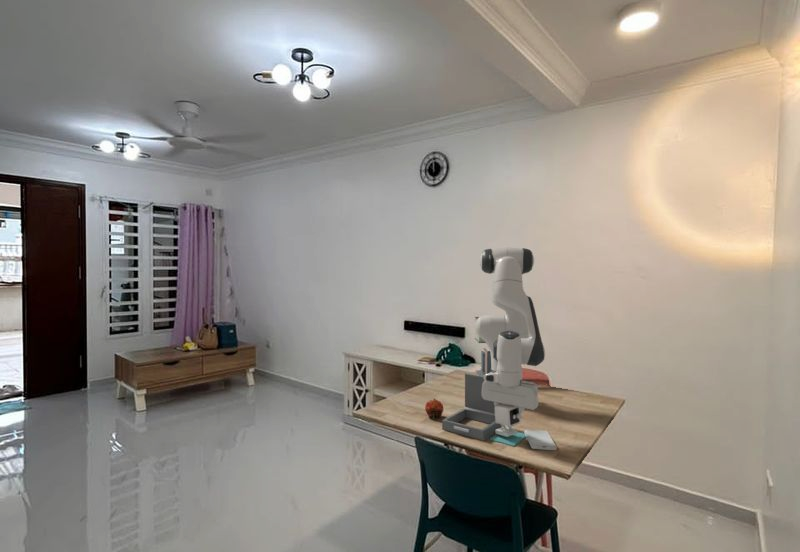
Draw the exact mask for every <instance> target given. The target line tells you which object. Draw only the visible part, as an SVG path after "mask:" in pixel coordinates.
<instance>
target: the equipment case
mask: <svg viewBox="0 0 800 552" xmlns="http://www.w3.org/2000/svg"><path fill="white" fill-rule="evenodd" d="M484 381H485V380H484V377H483V376H479V375H478V374H477V375H476V374H471V373H464V408H463V409H460V410H459V411H457V412H454V413H453V414H452V415H449V416H447V417H445V418H444V419H442V421H441V423H442V424H441V429H442V430H443V431H447V432H450V433H454V434H458V435H462V436H465V437H468V438H472V439H476V440H479V441H482V442H484V441H485V440H486V439H488V438H489V437H491V436H492V435H495V434H496V432H495V430H496V429H499V428H500V429H501V428H502V426H501V424H499V423H498V424H497V423H496V422H495V406H494V402H493V401H489V400H484V399H483V398H482V384H483V382H484ZM500 404H502V403H500ZM465 419H468V420H472V421H476V420H477V422H480V423H484V422H485V423H484V424H488V425H486V426H485V427H483V428H479V427H474V426H471V425H467V424H463V423H459V422H461V421H463V420H465Z"/></svg>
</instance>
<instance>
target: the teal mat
mask: <svg viewBox="0 0 800 552" xmlns="http://www.w3.org/2000/svg"><path fill="white" fill-rule="evenodd" d="M525 438H526V436H525V434H524V433H523V432H519V431H517V433H516V434H514V435H511V436H508V437H506V436H503V435H499V434H496V433H495V434H494V435H493V436H492V437H490V438H489V441H492V442H495V443H499V444H501V445H502V444H503V445H507V446H509V447H515V446H517V445H518V444H519V443H520V442H522V441H523V440H524V439H525Z"/></svg>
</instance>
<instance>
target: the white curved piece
mask: <svg viewBox="0 0 800 552" xmlns="http://www.w3.org/2000/svg"><path fill="white" fill-rule="evenodd" d="M479 317H480V316H474V324H475V323H476V321H477V319H478V318H479ZM474 339H475V341H476V342H477V343H479V344H486V342H485V341H484V340H483V339H482V338H480V337H479V336H478V334H477V333H476V330H475V329H474ZM480 356H481V357H480V367H481V368H480V370H475V372H476V373H477V376H483V377H484V375H486V374H488V373H490V369H491V353H490V350H487V348H484V347H483V348H482V350H480Z"/></svg>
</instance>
